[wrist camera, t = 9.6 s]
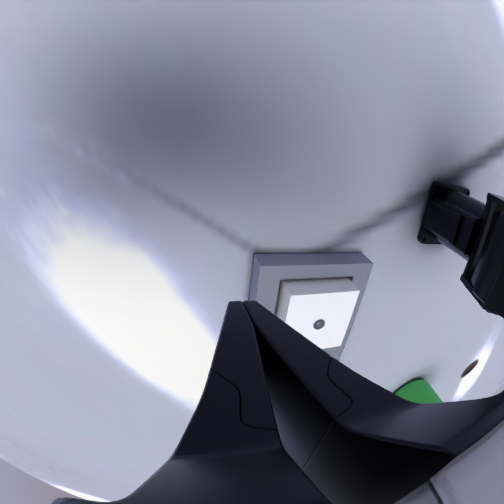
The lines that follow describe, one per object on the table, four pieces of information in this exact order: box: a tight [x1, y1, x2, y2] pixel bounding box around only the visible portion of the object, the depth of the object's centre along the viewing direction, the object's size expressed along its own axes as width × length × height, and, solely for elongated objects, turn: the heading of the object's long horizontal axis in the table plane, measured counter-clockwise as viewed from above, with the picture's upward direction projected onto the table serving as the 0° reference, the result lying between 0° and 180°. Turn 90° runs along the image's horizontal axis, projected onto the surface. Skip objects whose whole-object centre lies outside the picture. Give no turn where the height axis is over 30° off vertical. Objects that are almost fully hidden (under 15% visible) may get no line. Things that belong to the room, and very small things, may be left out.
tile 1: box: [274, 277, 360, 349], centre depth 25 cm, size 6×6×3 cm
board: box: [249, 253, 373, 361], centre depth 30 cm, size 10×27×2 cm, turn 174°
